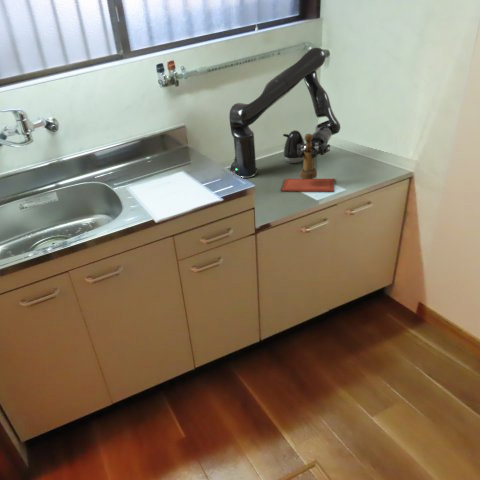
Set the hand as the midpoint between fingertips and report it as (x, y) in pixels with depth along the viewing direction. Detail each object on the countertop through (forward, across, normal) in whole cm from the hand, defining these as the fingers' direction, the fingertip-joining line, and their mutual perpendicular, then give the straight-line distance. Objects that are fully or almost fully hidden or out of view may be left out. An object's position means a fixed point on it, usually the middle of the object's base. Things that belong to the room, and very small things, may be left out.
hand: (306, 155), depth 161 cm
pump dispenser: (-29, -14, +15) cm, 35 cm away
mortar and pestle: (-3, 0, +10) cm, 11 cm away
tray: (-2, 0, +14) cm, 14 cm away
